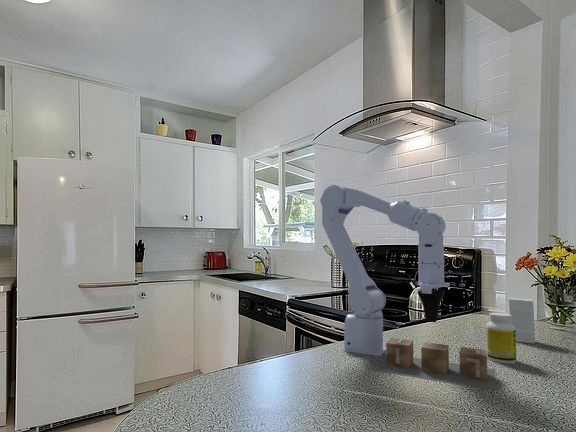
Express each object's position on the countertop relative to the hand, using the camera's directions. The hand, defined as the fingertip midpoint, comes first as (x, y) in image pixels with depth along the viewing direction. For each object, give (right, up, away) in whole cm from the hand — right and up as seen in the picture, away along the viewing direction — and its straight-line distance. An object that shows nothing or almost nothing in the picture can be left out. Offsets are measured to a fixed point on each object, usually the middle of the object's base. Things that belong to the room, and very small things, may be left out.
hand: (431, 321), depth 90 cm
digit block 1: (-8, -9, -4) cm, 13 cm away
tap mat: (-2, -9, -7) cm, 11 cm away
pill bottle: (+17, -10, +1) cm, 20 cm away
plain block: (-2, -9, -7) cm, 11 cm away
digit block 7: (+5, -8, -10) cm, 14 cm away
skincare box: (+34, -12, +20) cm, 41 cm away
